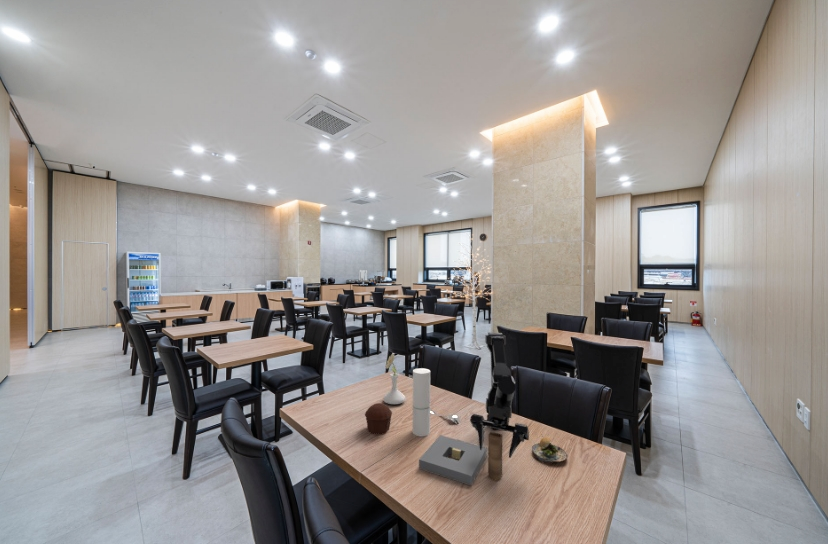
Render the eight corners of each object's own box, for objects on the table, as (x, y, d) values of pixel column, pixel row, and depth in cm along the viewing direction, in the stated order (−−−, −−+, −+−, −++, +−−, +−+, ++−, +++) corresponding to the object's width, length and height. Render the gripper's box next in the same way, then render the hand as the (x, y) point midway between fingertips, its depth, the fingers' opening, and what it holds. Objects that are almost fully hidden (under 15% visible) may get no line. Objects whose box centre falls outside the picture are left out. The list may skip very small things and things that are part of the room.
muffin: (367, 422, 137) (367, 399, 137) (393, 423, 137) (393, 399, 137) (362, 436, 125) (362, 411, 125) (390, 437, 125) (390, 411, 125)
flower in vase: (385, 396, 165) (386, 349, 166) (407, 398, 164) (407, 350, 164) (379, 407, 153) (380, 355, 153) (402, 408, 151) (403, 356, 151)
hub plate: (440, 443, 121) (440, 435, 121) (486, 455, 112) (486, 447, 112) (418, 468, 105) (419, 459, 105) (471, 485, 96) (471, 475, 96)
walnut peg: (489, 471, 103) (490, 431, 104) (502, 474, 102) (502, 434, 102) (486, 478, 100) (487, 437, 100) (499, 482, 98) (499, 440, 98)
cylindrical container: (432, 429, 131) (432, 369, 131) (427, 437, 124) (427, 374, 125) (415, 426, 133) (416, 367, 134) (410, 434, 127) (410, 372, 127)
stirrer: (421, 404, 148) (427, 401, 151) (421, 411, 148) (427, 408, 152) (456, 420, 135) (462, 416, 138) (456, 428, 135) (462, 424, 138)
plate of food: (553, 470, 105) (553, 448, 105) (524, 453, 115) (524, 432, 115) (574, 459, 111) (574, 438, 111) (545, 444, 121) (545, 424, 121)
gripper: (471, 390, 110) (461, 436, 100) (528, 400, 101) (522, 452, 91) (478, 405, 117) (468, 449, 107) (531, 415, 108) (526, 465, 98)
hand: (494, 453), depth 101 cm, fingers open, 9 cm apart
